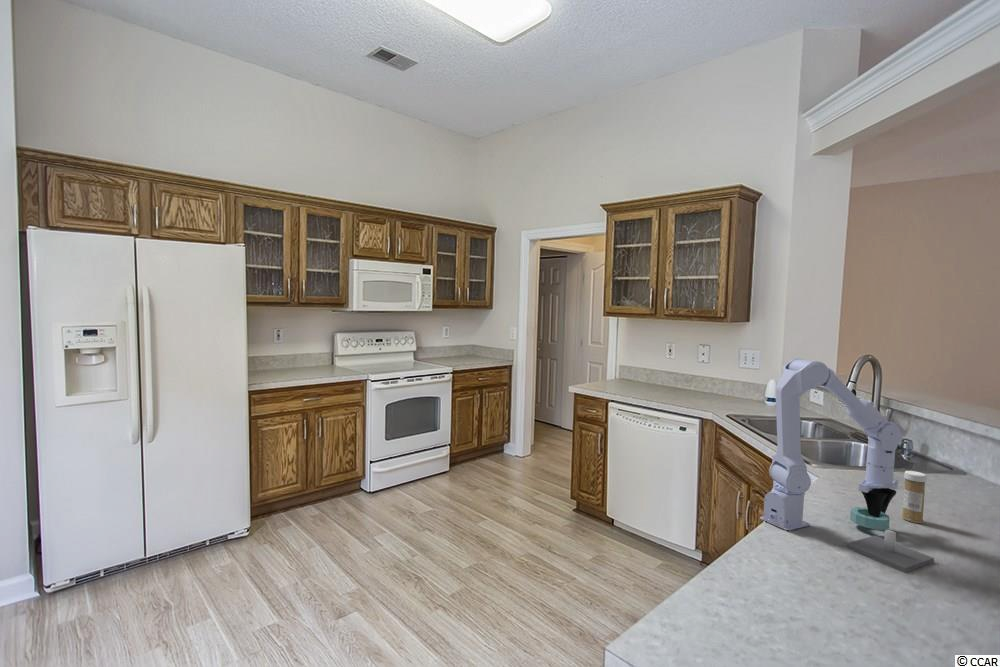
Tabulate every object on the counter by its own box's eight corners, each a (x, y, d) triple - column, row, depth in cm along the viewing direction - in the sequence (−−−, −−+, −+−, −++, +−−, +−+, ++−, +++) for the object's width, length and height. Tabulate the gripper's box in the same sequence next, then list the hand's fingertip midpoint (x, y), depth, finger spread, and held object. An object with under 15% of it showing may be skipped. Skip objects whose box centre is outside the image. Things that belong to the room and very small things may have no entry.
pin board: (905, 572, 105) (907, 547, 105) (846, 547, 116) (847, 525, 116) (933, 562, 110) (935, 538, 110) (874, 539, 121) (876, 517, 121)
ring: (877, 531, 122) (878, 522, 122) (843, 519, 129) (844, 510, 129) (895, 526, 125) (896, 516, 125) (861, 514, 132) (861, 505, 132)
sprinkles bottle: (925, 521, 134) (928, 473, 133) (919, 525, 131) (923, 476, 131) (904, 515, 137) (908, 469, 137) (898, 518, 135) (902, 471, 134)
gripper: (881, 472, 121) (877, 525, 122) (912, 466, 127) (909, 517, 128) (851, 464, 127) (847, 514, 128) (882, 459, 134) (878, 507, 134)
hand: (876, 515), depth 128 cm, fingers closed on ring, 2 cm apart
